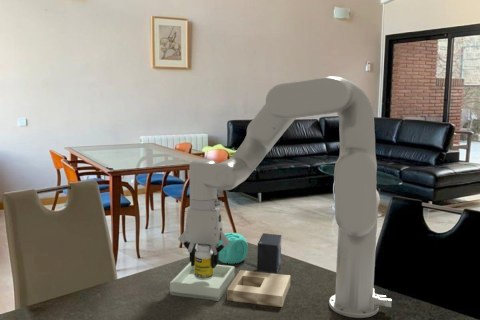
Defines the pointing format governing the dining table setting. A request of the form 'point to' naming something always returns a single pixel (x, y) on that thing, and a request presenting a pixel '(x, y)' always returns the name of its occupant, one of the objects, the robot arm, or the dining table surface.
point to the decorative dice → (233, 249)
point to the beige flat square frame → (259, 288)
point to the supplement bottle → (203, 262)
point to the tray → (202, 283)
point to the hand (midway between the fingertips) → (204, 264)
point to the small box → (269, 253)
